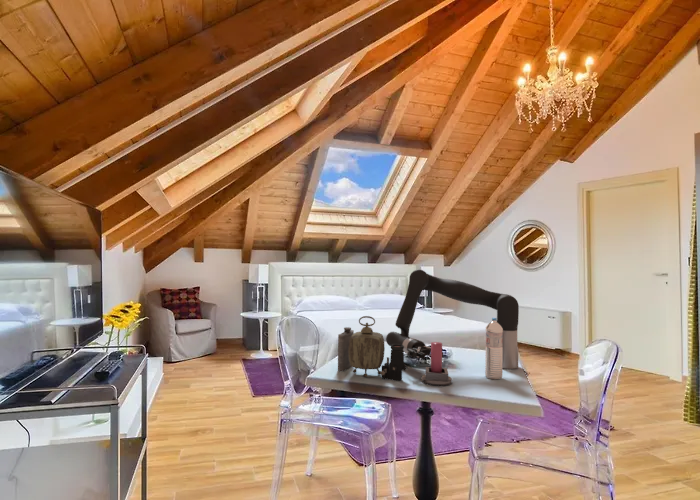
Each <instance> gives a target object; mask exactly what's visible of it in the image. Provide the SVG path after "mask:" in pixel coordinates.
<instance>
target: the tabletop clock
mask: <svg viewBox="0 0 700 500" xmlns="http://www.w3.org/2000/svg"><path fill="white" fill-rule="evenodd" d="M364 318H365V319H366V318H367V319H371V320H373V323H371V324H369V323H368V322H366V323H365V324H364V323H362V322H361V320H362V319H364ZM358 323H359V325H360V326H362V328H361V329H360V331H357V332H354V334H353V335H352V336H351V338H350V341H349V350H348V353H349V362H350V365H351V366H352V367H351V368H354V369H352V372H353V374H356V373H357V369H359V370H364V373H363V377H364V378H368V373H367V370H376V371H377V375H378V376H379V375H381V374H380V372H381V371H382V370H380V368H382V365H383V362H384V359H385V358H384V357H385V339H384V335H383V334H382V333H379V332H376V331H373V329H372V328H371V327H373V325H375V324H376V320H375V318H374V317H372V316H369V315H365V316H360V318H359V319H358Z"/></svg>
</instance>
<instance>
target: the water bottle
mask: <svg viewBox="0 0 700 500" xmlns="http://www.w3.org/2000/svg"><path fill="white" fill-rule="evenodd" d="M502 332H503V328H502V327H501V325H500V324H499V323H498V322H497V317H492V318H491V321H490V322H489V323H488V324H487V325H486V326H485V359H484V360H485V363H484V364H485V366H484V367H485V371H484V372H485V377H486V378H487V379H489V380H502V379H503V369H504V368H503V367H502V366H503V365H502V364H503V363H502V362H503V361H502V360H503V347H502Z"/></svg>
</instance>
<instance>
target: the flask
mask: <svg viewBox="0 0 700 500" xmlns="http://www.w3.org/2000/svg"><path fill="white" fill-rule="evenodd" d="M343 330H344V331H343V332H341V333H339V334H337V335H338V336H337V372H341V373H342V372H345V371H348V370H349V369H351V368H353V367H352V366H351V365H350V362H349V353H348V350H349V341H350V338H351V336H352V335H353V334H354V333H355V332H354V330H353V329H352V327H350V326H348V327H347V326H345V327H343Z"/></svg>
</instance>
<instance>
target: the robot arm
mask: <svg viewBox="0 0 700 500" xmlns="http://www.w3.org/2000/svg"><path fill="white" fill-rule="evenodd" d="M407 285H408V286H407V290H406V291H407V292H406V295H405V297H404V300H403V303H402V304H401V307H400V310H399V312H398V316H397V318H396V321H395V326H396V327H397V328H398V329H399V330H400V333H399V332H397V331H390V332H388V333H387V335H386V337H385V342H386V344H387V345H388V346H390V347H391V345H393V344H400V345H403V346H404V349H403V351H404V352H403V353H406V355H407V356H410V357H412V359H413V358H415V359H422V360H425V359H426V356H427V357H428V356H429V357H431V346H428V345H426V343H424V341H422V340H419V339H417V338H414V337H411V336H409V334H410V328H411V324H412V323H413V320H414V316H415V312H416V308H417V305H418V302H419V298H420V296H421V294H422V293H423V291H428V292H433V293H436V294H439V295H441V296H444V297H446V298H449V299H451V300H455V301H459V302H461V303H465V304H470V305H478V306H484V307H487V308H490V309H493V310H494V311H496V318H497V321H496V322H498V323H499V324H500V325H501V327H502V328H503V332H502V347H503V360H502V361H503V362H502V363H503V364H502V365H503V366H502V367H503V368H502V369H506V370H507V369H508V370H509V369H510V370H514V369H519V347H518V327H519V326H518V325H519V317H520V316H519V314H520V312H519V310H520V308H519V302H518V300H517V299H516V298H515V297H514V296H513V295H511V294H507V293H506V294H505V293H499V292H496V291H495V292H494V291H489V290H487V289H484V288H482V287H480V286H476V285H473V284H471V283H467V282H464V281H460V280H455V279H448V278H441V277H438V276H434V275H431V274H429V273H427V272H426V271H425V270H423V269H415V270H413V271H412V272H411V273H410V275H409V279H408V284H407ZM442 358H444V352H443V351H442Z"/></svg>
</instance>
